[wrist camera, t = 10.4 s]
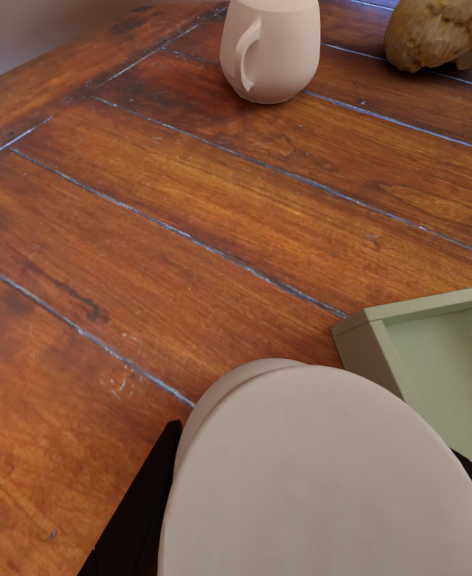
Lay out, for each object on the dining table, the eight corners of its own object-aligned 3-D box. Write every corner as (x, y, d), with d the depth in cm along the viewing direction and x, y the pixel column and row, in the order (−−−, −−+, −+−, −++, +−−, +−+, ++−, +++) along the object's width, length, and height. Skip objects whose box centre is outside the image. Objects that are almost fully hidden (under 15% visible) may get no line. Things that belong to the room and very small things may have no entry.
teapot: (255, 43, 35) (263, -78, 26) (329, 62, 33) (367, -62, 24) (191, 109, 28) (172, -27, 19) (283, 138, 26) (311, 2, 17)
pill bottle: (183, 428, 13) (17, 567, 3) (250, 352, 15) (291, 279, 5) (260, 521, 12) (474, 1536, 1) (325, 423, 14) (621, 536, 3)
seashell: (393, 54, 40) (355, 54, 33) (452, -54, 31) (418, -86, 24) (486, 94, 35) (466, 105, 28) (587, -20, 26) (597, -47, 19)
